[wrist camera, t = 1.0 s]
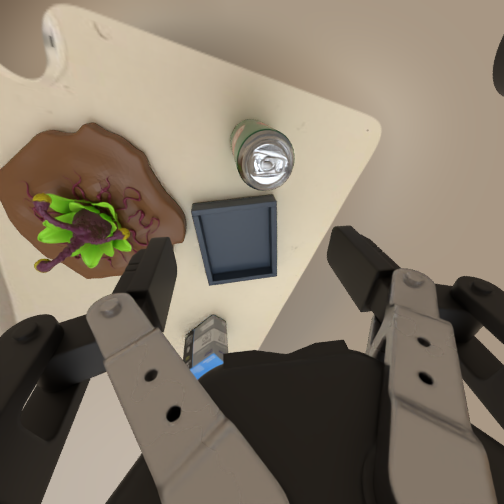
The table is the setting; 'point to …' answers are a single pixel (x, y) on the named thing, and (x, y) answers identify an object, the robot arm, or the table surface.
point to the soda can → (261, 155)
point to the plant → (87, 201)
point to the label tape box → (206, 346)
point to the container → (237, 238)
